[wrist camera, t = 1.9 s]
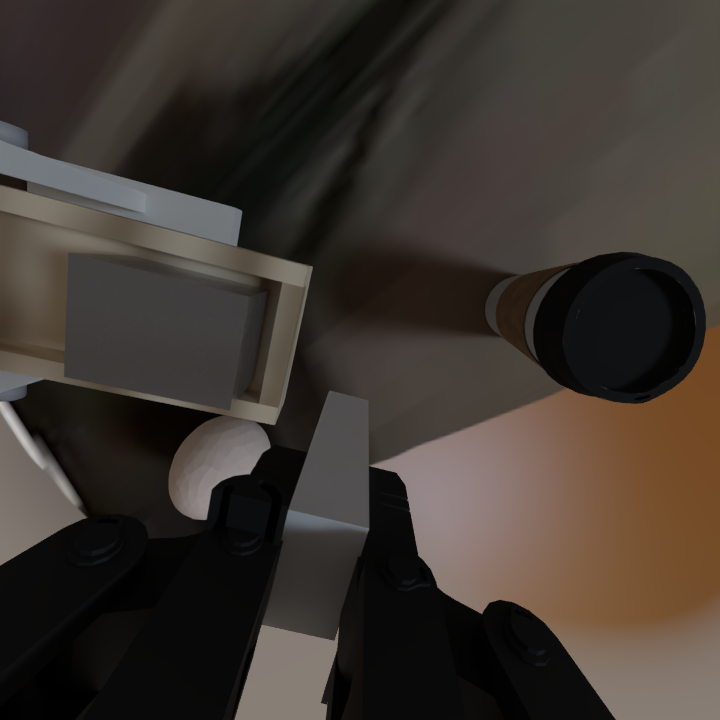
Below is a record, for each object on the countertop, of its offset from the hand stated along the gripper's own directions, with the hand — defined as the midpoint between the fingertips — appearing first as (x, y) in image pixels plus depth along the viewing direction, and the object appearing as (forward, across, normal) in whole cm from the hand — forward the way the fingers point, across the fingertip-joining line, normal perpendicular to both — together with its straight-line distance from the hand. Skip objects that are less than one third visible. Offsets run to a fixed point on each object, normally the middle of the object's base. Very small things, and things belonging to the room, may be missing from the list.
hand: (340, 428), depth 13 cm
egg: (+21, -9, -14) cm, 27 cm away
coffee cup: (+21, +14, +6) cm, 26 cm away
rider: (+9, -10, 0) cm, 13 cm away
